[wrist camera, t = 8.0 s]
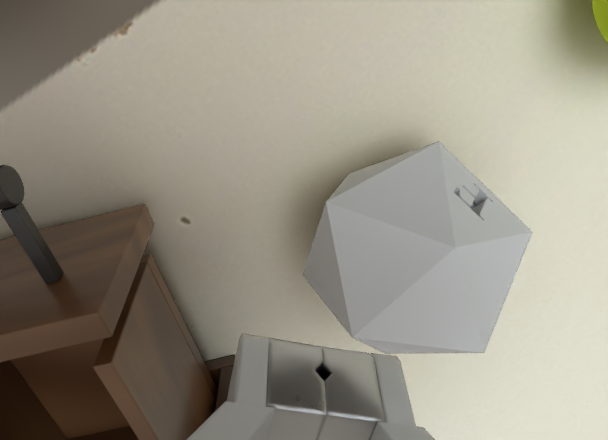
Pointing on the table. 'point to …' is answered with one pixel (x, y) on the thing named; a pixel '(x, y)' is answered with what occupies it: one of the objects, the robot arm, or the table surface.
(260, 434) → the robot arm
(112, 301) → the drawer
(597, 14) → the ball
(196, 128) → the table surface
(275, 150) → the table surface
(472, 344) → the die
